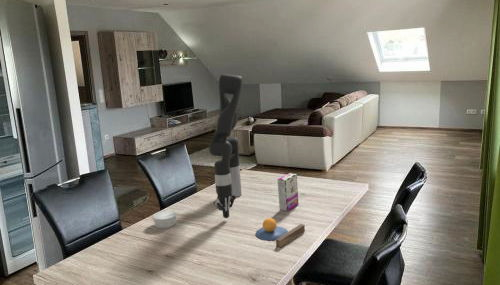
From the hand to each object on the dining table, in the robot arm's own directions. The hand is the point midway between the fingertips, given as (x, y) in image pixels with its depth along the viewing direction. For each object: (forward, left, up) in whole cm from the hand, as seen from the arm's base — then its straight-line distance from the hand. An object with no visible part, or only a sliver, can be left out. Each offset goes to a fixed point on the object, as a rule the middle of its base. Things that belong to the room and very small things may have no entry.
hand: (226, 217), depth 187 cm
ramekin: (-22, -19, -2) cm, 29 cm away
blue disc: (+27, 0, -2) cm, 27 cm away
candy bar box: (+16, +29, -2) cm, 33 cm away
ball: (+25, +1, +2) cm, 25 cm away
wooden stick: (+37, 0, -2) cm, 37 cm away
